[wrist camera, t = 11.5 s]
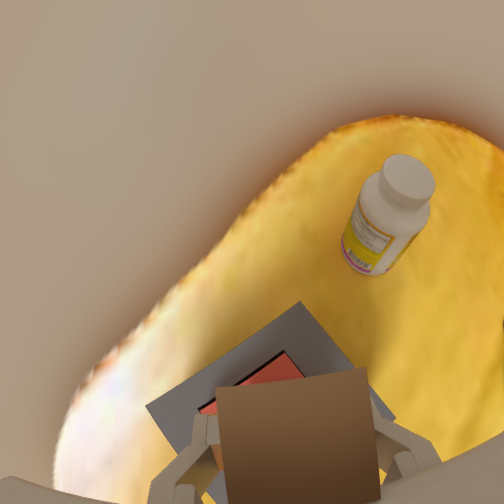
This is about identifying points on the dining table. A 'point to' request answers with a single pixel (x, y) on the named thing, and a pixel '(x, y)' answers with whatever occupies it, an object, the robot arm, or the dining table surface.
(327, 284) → the dining table surface
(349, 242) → the supplement bottle
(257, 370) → the gray socket block
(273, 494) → the brown wooden block
